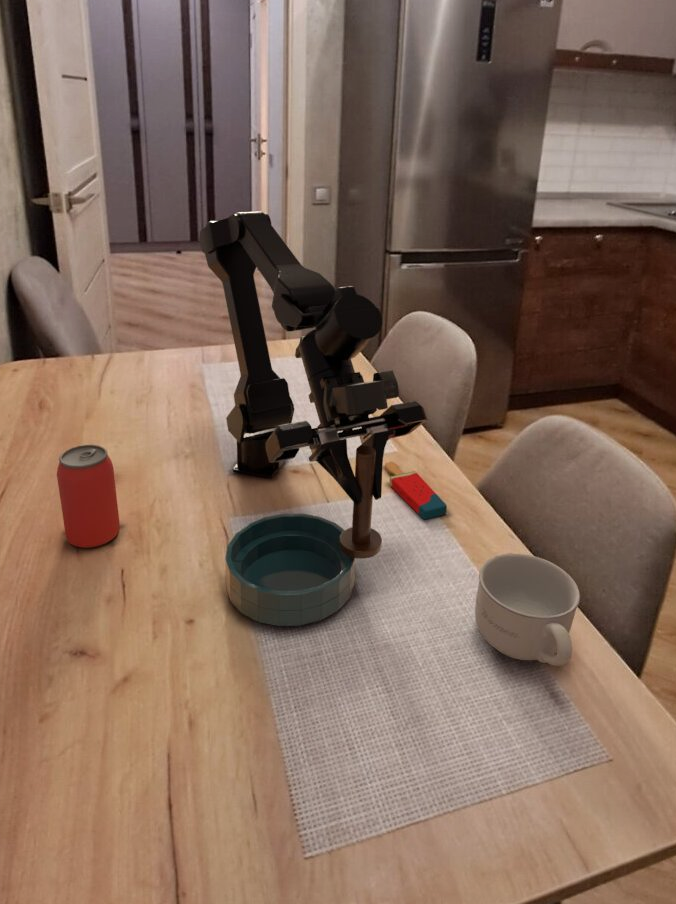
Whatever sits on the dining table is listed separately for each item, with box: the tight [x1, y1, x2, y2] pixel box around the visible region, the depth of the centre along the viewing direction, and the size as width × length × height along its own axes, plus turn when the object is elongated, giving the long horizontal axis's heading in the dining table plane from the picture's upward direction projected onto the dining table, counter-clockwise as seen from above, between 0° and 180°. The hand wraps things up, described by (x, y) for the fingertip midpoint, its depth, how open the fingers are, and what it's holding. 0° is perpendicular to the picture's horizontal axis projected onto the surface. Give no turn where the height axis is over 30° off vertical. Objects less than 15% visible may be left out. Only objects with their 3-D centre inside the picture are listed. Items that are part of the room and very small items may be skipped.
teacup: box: [474, 552, 581, 667], centre depth 72 cm, size 14×11×8 cm
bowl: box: [224, 513, 357, 627], centre depth 80 cm, size 15×15×5 cm
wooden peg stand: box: [339, 445, 383, 560], centre depth 77 cm, size 5×5×13 cm
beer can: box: [56, 444, 121, 549], centre depth 85 cm, size 7×7×12 cm
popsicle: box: [384, 461, 448, 520], centre depth 102 cm, size 4×2×15 cm
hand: (368, 501), depth 76 cm, fingers closed on wooden peg stand, 2 cm apart
